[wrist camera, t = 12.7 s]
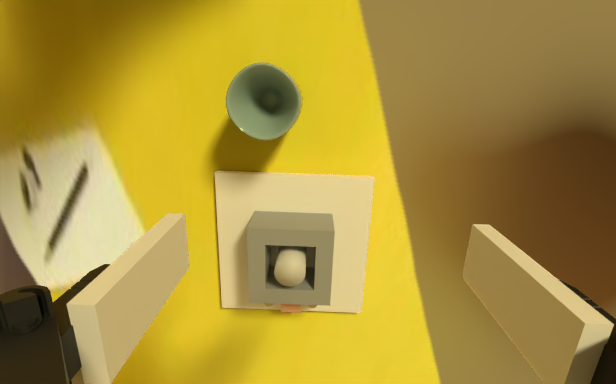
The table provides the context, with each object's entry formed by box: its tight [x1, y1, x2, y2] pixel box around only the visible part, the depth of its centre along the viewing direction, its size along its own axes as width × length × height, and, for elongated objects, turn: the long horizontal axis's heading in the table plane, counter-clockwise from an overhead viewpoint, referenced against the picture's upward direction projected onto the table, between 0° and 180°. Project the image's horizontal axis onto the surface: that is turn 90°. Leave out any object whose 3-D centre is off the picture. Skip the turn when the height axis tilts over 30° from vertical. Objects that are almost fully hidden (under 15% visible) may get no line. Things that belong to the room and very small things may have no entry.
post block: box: [215, 170, 375, 313], centre depth 47 cm, size 22×22×8 cm
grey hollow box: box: [247, 211, 335, 313], centre depth 47 cm, size 15×11×6 cm
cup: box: [226, 62, 303, 141], centre depth 39 cm, size 8×8×10 cm
